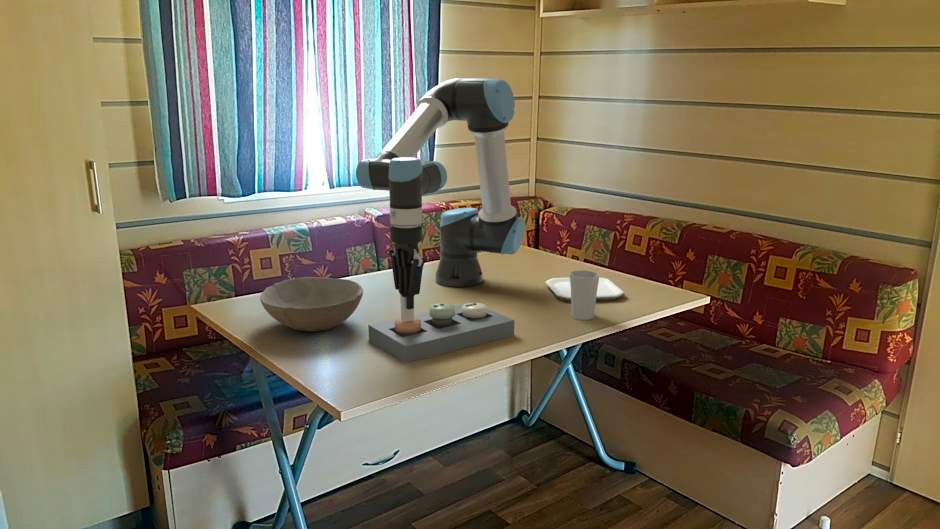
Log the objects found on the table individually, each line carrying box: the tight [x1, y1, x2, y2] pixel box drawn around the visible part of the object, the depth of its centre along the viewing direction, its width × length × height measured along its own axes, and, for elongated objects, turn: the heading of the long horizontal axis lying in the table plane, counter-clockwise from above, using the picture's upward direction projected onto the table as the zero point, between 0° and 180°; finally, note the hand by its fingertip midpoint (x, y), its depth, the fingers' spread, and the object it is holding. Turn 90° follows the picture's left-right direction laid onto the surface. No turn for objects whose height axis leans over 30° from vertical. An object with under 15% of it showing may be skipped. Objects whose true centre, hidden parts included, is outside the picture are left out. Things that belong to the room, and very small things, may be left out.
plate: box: [545, 276, 625, 302], centre depth 222 cm, size 21×21×2 cm
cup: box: [569, 269, 600, 321], centre depth 199 cm, size 8×8×12 cm
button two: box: [428, 302, 456, 329], centre depth 182 cm, size 6×6×5 cm
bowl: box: [259, 276, 364, 332], centre depth 189 cm, size 26×26×10 cm
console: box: [367, 301, 516, 363], centre depth 183 cm, size 18×32×4 cm, turn 126°
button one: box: [395, 317, 421, 337], centre depth 177 cm, size 6×6×5 cm
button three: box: [462, 302, 488, 321], centre depth 188 cm, size 6×6×5 cm
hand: (407, 320), depth 176 cm, fingers closed
